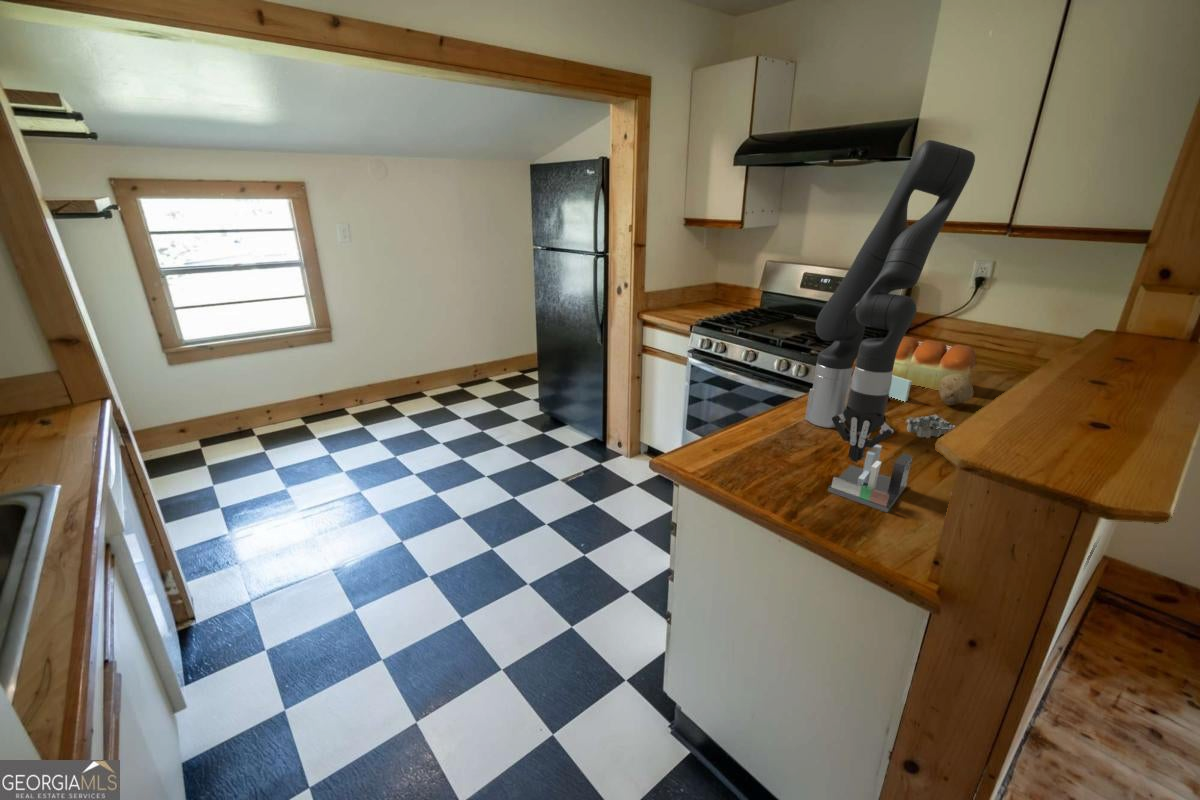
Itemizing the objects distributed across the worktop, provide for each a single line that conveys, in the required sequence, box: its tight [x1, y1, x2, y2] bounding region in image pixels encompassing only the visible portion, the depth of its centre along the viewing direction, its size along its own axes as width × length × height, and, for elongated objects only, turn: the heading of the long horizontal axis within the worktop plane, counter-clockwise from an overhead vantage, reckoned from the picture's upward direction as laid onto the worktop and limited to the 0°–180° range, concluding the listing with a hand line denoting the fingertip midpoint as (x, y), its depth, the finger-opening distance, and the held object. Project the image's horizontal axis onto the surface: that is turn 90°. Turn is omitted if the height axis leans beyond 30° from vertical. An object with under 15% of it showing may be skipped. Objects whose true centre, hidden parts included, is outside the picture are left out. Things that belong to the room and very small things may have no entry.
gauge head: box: [857, 444, 883, 485], centre depth 113 cm, size 1×10×7 cm, turn 137°
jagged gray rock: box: [905, 413, 956, 439], centre depth 142 cm, size 11×8×4 cm
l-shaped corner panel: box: [849, 375, 912, 403], centre depth 165 cm, size 12×12×8 cm
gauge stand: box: [827, 453, 914, 513], centre depth 113 cm, size 12×14×8 cm
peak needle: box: [867, 460, 883, 489], centre depth 109 cm, size 1×4×7 cm, turn 137°
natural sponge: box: [938, 374, 974, 406], centre depth 159 cm, size 9×9×10 cm
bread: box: [892, 335, 977, 391], centre depth 178 cm, size 25×12×15 cm, turn 47°
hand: (854, 460), depth 117 cm, fingers closed
